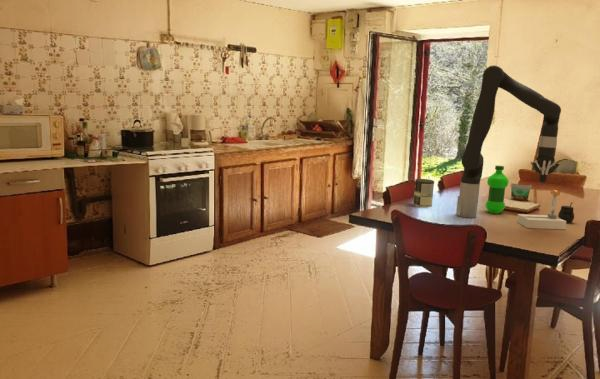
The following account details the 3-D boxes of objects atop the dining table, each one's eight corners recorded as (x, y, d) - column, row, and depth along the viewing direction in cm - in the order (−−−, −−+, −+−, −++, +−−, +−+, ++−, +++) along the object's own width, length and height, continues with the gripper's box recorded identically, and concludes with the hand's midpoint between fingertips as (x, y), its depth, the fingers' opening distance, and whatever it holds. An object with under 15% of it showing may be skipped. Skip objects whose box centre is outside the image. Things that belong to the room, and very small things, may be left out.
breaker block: (527, 227, 244) (528, 219, 244) (516, 221, 256) (517, 213, 256) (565, 229, 245) (566, 221, 244) (552, 223, 257) (553, 215, 256)
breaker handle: (551, 218, 248) (554, 191, 245) (546, 216, 252) (550, 189, 250) (557, 218, 248) (561, 191, 245) (552, 216, 252) (556, 189, 250)
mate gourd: (555, 221, 262) (557, 202, 260) (560, 219, 267) (563, 200, 265) (570, 224, 257) (573, 204, 255) (575, 222, 262) (578, 203, 260)
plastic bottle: (506, 212, 279) (511, 166, 275) (502, 215, 270) (508, 168, 266) (486, 209, 284) (491, 164, 279) (482, 212, 275) (487, 165, 271)
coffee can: (410, 205, 285) (412, 180, 283) (416, 202, 294) (418, 178, 291) (428, 208, 280) (431, 182, 277) (434, 205, 289) (436, 180, 286)
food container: (510, 200, 314) (512, 184, 313) (508, 198, 320) (510, 182, 319) (531, 202, 312) (533, 186, 310) (529, 200, 318) (532, 184, 316)
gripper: (557, 146, 248) (551, 181, 251) (529, 144, 247) (525, 180, 250) (565, 147, 240) (559, 184, 243) (537, 146, 240) (532, 182, 243)
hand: (542, 182), depth 247 cm, fingers closed
